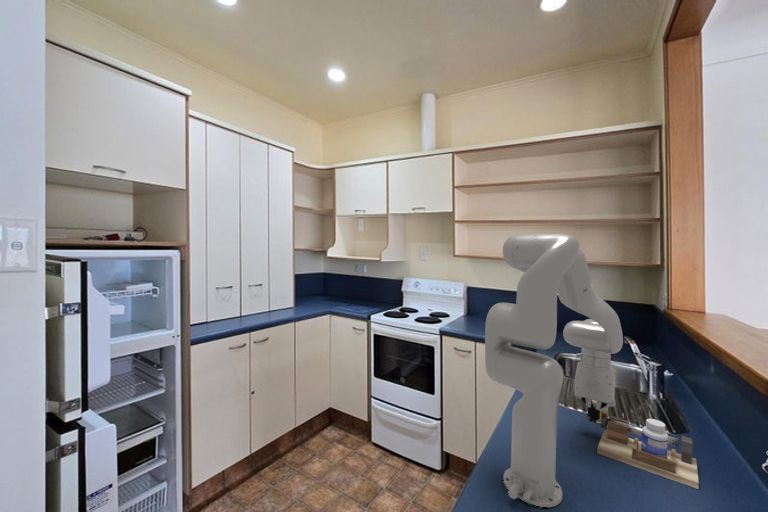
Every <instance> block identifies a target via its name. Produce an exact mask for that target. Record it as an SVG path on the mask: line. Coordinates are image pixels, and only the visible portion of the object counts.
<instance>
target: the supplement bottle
mask: <svg viewBox="0 0 768 512" xmlns="http://www.w3.org/2000/svg"><path fill="white" fill-rule="evenodd" d="M596 403H597V401H595V400H592V404H593V405H594V407H595V405H596ZM602 413H607V414H608V415H609V406H605V407H603V408H602V409H600V419H599V420H597V421H596V423H595V424H598V425H599V424H600V425H601V418H602ZM588 419H589V420H590V417H588Z"/></svg>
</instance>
